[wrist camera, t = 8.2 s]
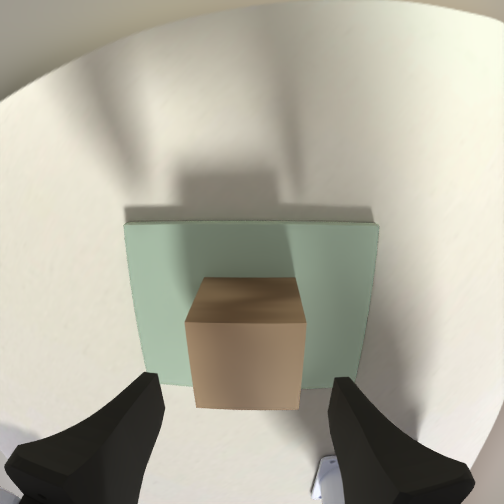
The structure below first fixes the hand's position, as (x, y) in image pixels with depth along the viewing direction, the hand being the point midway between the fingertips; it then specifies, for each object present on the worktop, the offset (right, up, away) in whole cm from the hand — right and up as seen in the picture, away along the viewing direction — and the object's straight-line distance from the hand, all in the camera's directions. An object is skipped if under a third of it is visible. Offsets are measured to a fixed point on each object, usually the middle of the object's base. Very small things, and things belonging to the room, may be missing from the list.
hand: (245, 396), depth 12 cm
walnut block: (0, +2, +6) cm, 7 cm away
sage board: (0, +2, +7) cm, 7 cm away
